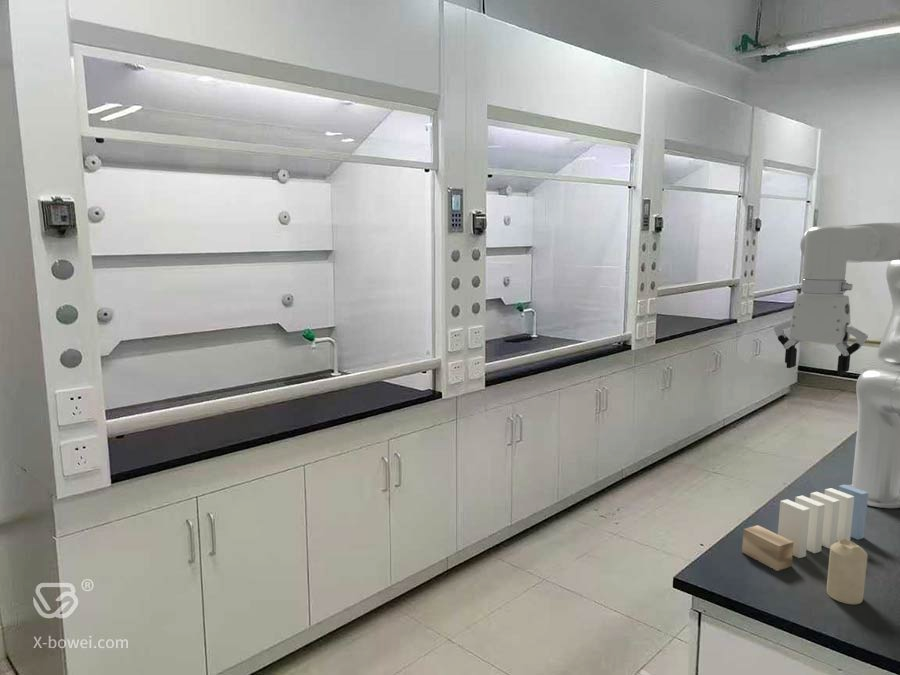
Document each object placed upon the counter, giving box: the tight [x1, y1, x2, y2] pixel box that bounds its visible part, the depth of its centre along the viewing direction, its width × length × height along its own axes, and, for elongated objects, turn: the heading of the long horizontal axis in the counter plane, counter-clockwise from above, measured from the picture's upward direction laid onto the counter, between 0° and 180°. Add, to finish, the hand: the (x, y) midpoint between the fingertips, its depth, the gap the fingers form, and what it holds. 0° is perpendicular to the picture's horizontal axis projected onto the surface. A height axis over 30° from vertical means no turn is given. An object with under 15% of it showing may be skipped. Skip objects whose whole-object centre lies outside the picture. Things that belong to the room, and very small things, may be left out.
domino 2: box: [794, 495, 825, 554], centre depth 128 cm, size 2×5×10 cm, turn 25°
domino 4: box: [823, 487, 854, 542], centre depth 132 cm, size 2×5×10 cm, turn 25°
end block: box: [741, 524, 793, 571], centre depth 124 cm, size 4×8×5 cm, turn 25°
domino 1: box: [777, 498, 810, 559], centre depth 127 cm, size 2×5×10 cm, turn 25°
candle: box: [826, 539, 869, 605], centre depth 111 cm, size 6×6×10 cm
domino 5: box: [838, 483, 868, 541], centre depth 134 cm, size 2×5×10 cm, turn 25°
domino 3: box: [809, 491, 840, 550], centre depth 130 cm, size 2×5×10 cm, turn 25°
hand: (815, 370), depth 131 cm, fingers open, 9 cm apart
